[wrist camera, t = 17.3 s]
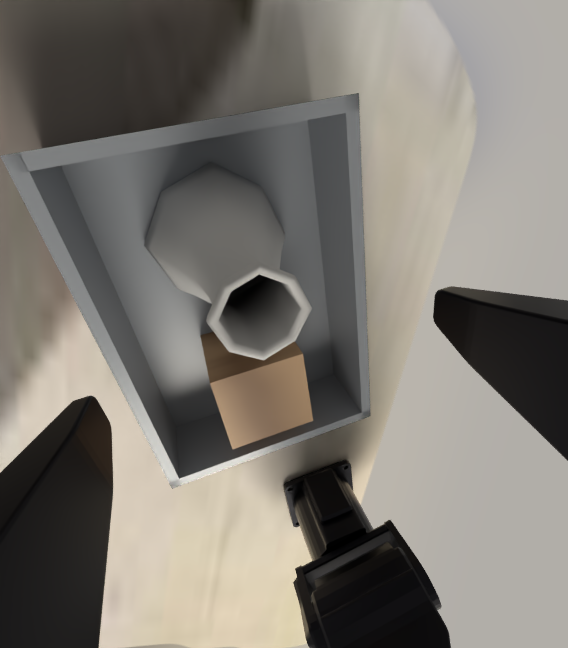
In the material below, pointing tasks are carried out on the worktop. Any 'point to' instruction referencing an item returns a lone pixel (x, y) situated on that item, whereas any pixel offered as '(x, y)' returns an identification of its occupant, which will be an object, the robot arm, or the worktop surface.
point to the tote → (189, 310)
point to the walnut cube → (257, 391)
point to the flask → (229, 259)
